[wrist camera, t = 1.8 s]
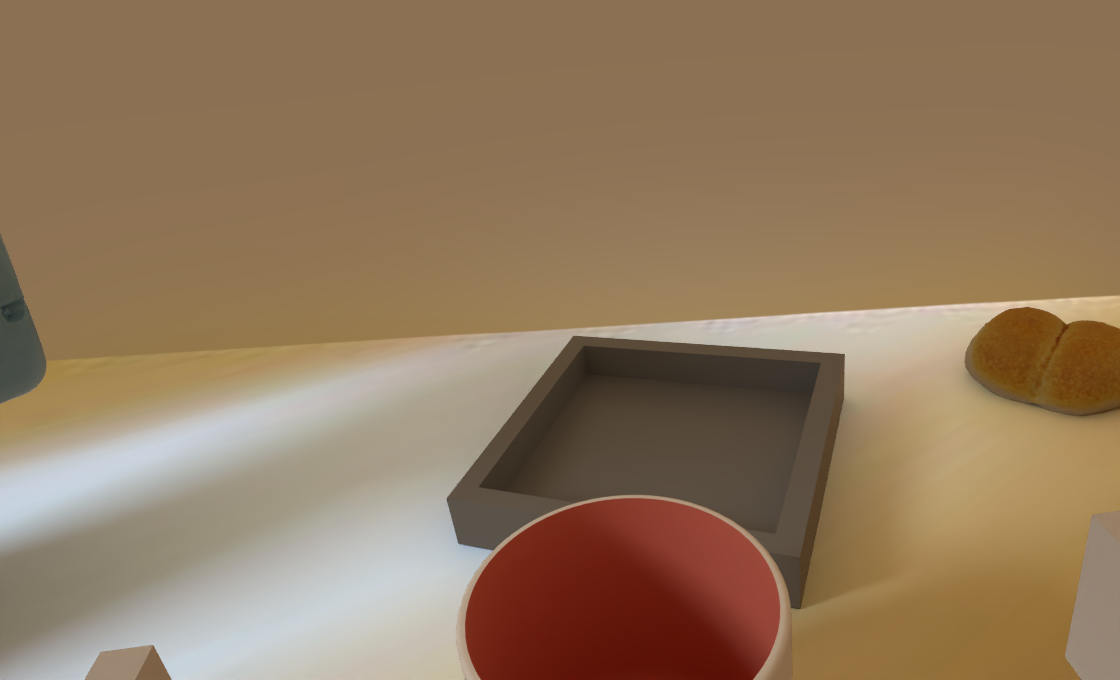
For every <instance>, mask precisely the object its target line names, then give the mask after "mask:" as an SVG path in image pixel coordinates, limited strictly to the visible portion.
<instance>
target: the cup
mask: <svg viewBox="0 0 1120 680" xmlns="http://www.w3.org/2000/svg"><path fill="white" fill-rule="evenodd" d="M456 643H457V650H458V656H459V660H460V664H461V667H462V671H463V674H464V678H465V680H792V625H791V605H790V599H789V594H788V590H787V587H786V584H785V581H784V578H783V576H782V574H781V572H780V570H779V568H778V566H777V564H776V563H775V561H774V560H773V559H772V557H771V556H770V554H769V553H768V551H767V550H766V549H765V548H764V547H763V546H762V545H761V544H760V542H759V541H758V540H757V539H756V538H754V537H753V536H752V535H751V534H750V533H749V532H748V531H746V530H745V529H744V528H742V527H741V526H739V525H738V524H736V523H735V522H734V521H732V520H730V519H728V518H727V517H725V516H723V515H721V514H719V513H717V512H715V511H712V510H710V509H708V508H706V507H703V506H700V505H697V504H694V503H690V502H687V501H683V500H679V499H673V498H668V497H660V496H651V495H619V496H609V497H601V498H596V499H590V500H586V501H582V502H578V503H575V504H571V505H568V506H565V507H562V508H560V509H557V510H554V511H552V512H550V513H547V514H545V515H543V516H541V517H539V518H537V519H535V520H533V521H532V522H530V523H528V524H526V525H525V526H523V527H522V528H520V529H519V530H517V531H516V532H514V533H513V534H512V535H510V536H509V537H508V538H506V539H505V540H504V541H503V542H502V543H501V544H500V545H498V546H497V547H496V548H495V550H494V551H493V552H492V553H491V554H490V555H489V556H488V557H487V558H486V559H485V560H484V562H483V563H482V564H481V566H480V567H479V568H478V570H477V571H476V572H475V574H474V576H473V578H472V579H471V581H470V583H469V585H468V587H467V589H466V592H465V594H464V596H463V599H462V602H461V606H460V609H459V613H458V620H457V627H456Z"/></svg>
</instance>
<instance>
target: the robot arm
mask: <svg viewBox="0 0 1120 680" xmlns="http://www.w3.org/2000/svg"><path fill="white" fill-rule="evenodd" d="M45 372H46V358H45V354H44V351H43V348H42V345H41V342H40V339H39V337H38V334H37V331H36V328H35V325H34V323H33V320H32V318H31V315H30V312H29V310H28V307H27V305H26V303H25V301H24V296H23V293H22V291H21V288H20V286H19V282H18V279H17V276H16V274H15V271H14V268H13V265H12V263H11V260H10V258H9V255H8V252H7V250H6V247H5V245H4V242H3V240H2V237H1V234H0V404H1V403H3V402H6V401H8V400H11V399H14V398H16V397H19V396H22V395H24V394H26V393H28V392H30V391H31V390H33V389H34V388H36V387H37V386H38V385H39V383H40V382H41V381H42V379H43V377H44V375H45ZM1065 658H1066V659H1067V661H1068V662H1069V663H1070V665H1071V666H1072V667H1073V669H1074V670H1075V671H1076V673H1077V674H1078V676H1079V677H1080V678H1081V680H1120V511H1114V512H1107V513H1100V514H1093V515H1092V518H1091V523H1090V528H1089V534H1088V539H1087V544H1086V549H1085V554H1084V560H1083V565H1082V570H1081V575H1080V580H1079V586H1078V591H1077V596H1076V601H1075V606H1074V612H1073V617H1072V622H1071V627H1070V632H1069V638H1068V643H1067V648H1066V653H1065ZM85 680H171V678H170V676H169V674H168V672H167V670H166V668H165V666H164V665H163V663H162V661H161V659H160V657H159V655H158V653H157V651H156V650H155V648H154V646H153V645H149V646H142V647H135V648H127V649H120V650H113V651H106V652H100V654H99V656H98V658H97V659H96V661H95V663H94V664H93V666H92V668H91V670H90V671H89V673H88V675H87V676H86V678H85Z"/></svg>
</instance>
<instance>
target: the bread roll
mask: <svg viewBox="0 0 1120 680" xmlns="http://www.w3.org/2000/svg"><path fill="white" fill-rule="evenodd" d="M965 366H966V368H967V370H968V372H969V373H970V374H971V375H972V376H973V377H974V378H975V379H976V380H977V381H978V382H979V383H981V384H982V385H983V386H984V387H986V388H987V389H988V390H990V391H991V392H993V393H995V394H997V395H1000V396H1002V397H1005V398H1008V399H1011V400H1015V401H1019V402H1024V403H1034V404H1037V405H1039V406H1041V407H1042V408H1045V409H1047V410H1050V411H1054V412H1058V413H1063V414H1069V415H1078V416H1081V415H1089V414H1096V413H1100V412H1103V411H1107V410H1110V409H1113V408H1117V407H1120V329H1119V328H1116V327H1113V326H1110V325H1107V324H1105V323H1102V322H1096V321H1076V322H1072V323H1070V324H1067V325H1066V324H1065V323H1064V322H1063V321H1062V320H1061V319H1059V318H1058V317H1057V316H1055V315H1053V314H1051V313H1049V312H1046V311H1043V310H1040V309H1036V308H1030V307H1024V308H1015V309H1009V310H1006V311H1004V312H1002V313H1001V314H999V315H998V316H996V317H995V318H993V319H992V320H991V321H990V322H988V323H986V324H985V326H984V327H982V329H981V330H980V331H979V332H978V334H977V335H976V336H975V337H974V338H973V339H972V341H971V343H970V345H969V346H968V348H967V351H966V356H965Z"/></svg>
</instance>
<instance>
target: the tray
mask: <svg viewBox="0 0 1120 680" xmlns="http://www.w3.org/2000/svg"><path fill="white" fill-rule="evenodd" d="M844 366H845V354H835V353H821V352H806V351H791V350H776V349H761V348H746V347H732V346H717V345H702V344H687V343H672V342H658V341H643V340H628V339H613V338H598V337H583V336H573V337H572V339H571V340H570V341H569V343H568V344H567V345H566V346H565V348H564V349H563V350H562V352H561V353H560V354H559V355H558V357H557V358H556V359H555V360H554V362H553V363H552V364H551V366H550V367H549V368H548V369H547V371H546V372H545V373H544V375H543V376H542V377H541V378H540V380H539V381H538V382H537V384H536V385H535V386H534V387H533V389H532V390H531V391H530V392H529V394H528V395H527V396H526V398H525V399H524V400H523V401H522V403H521V404H520V405H519V407H518V408H517V409H516V410H515V412H514V413H513V414H512V416H511V417H510V418H509V419H508V421H507V422H506V423H505V425H504V426H503V427H502V428H501V430H500V431H499V432H498V433H497V435H496V436H495V437H494V439H493V440H492V441H491V442H490V444H489V445H488V446H487V448H486V449H485V450H484V451H483V453H482V454H481V455H480V457H479V458H478V459H477V460H476V462H475V463H474V464H473V466H472V467H471V468H470V469H469V471H468V472H467V473H466V474H465V476H464V477H463V478H462V480H461V481H460V482H459V483H458V485H457V486H456V487H455V489H454V490H453V491H452V492H451V494H450V495H449V496H448V498H447V502H448V506H449V509H450V513H451V517H452V521H453V525H454V528H455V532H456V536H457V540H458V543H459V544H464V545H469V546H474V547H479V548H484V549H490V550H495V548H496V547H497V546H498V545H500V544H501V543H502V542H503V541H504V540H505V539H506V538H508V537H509V536H510V535H512V534H513V533H514V532H516V531H517V530H519V529H520V528H522V527H523V526H525V525H526V524H528V523H530V522H532V521H533V520H535V519H537V518H539V517H541V516H543V515H545V514H547V513H550V512H552V511H554V510H557V509H560V508H562V507H565V506H568V505H571V504H575V503H578V502H582V501H586V500H590V499H596V498H601V497H609V496H619V495H651V496H660V497H668V498H673V499H679V500H683V501H687V502H690V503H694V504H697V505H700V506H703V507H706V508H708V509H710V510H712V511H715V512H717V513H719V514H721V515H723V516H725V517H727V518H728V519H730V520H732V521H734V522H735V523H736V524H738V525H739V526H741V527H742V528H744V529H745V530H746V531H748V532H749V533H750V534H751V535H752V536H753V537H754V538H756V539H757V540H758V541H759V542H760V544H761V545H762V546H763V547H764V548H765V549H766V550H767V551H768V553H769V554H770V556H771V557H772V559H773V560H774V561H775V563H776V564H777V566H778V568H779V570H780V572H781V574H782V576H783V578H784V581H785V584H786V587H787V590H788V594H789V599H790V605H791V607H792V608H798V609H800V608H801V603H802V598H803V593H804V588H805V583H806V579H807V574H808V569H809V564H810V559H811V554H812V549H813V545H814V540H815V535H816V530H817V525H818V520H819V515H820V511H821V506H822V501H823V496H824V491H825V486H826V481H827V477H828V472H829V467H830V462H831V457H832V452H833V447H834V443H835V438H836V433H837V428H838V423H839V418H840V413H841V409H842V404H843V399H844Z"/></svg>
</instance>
